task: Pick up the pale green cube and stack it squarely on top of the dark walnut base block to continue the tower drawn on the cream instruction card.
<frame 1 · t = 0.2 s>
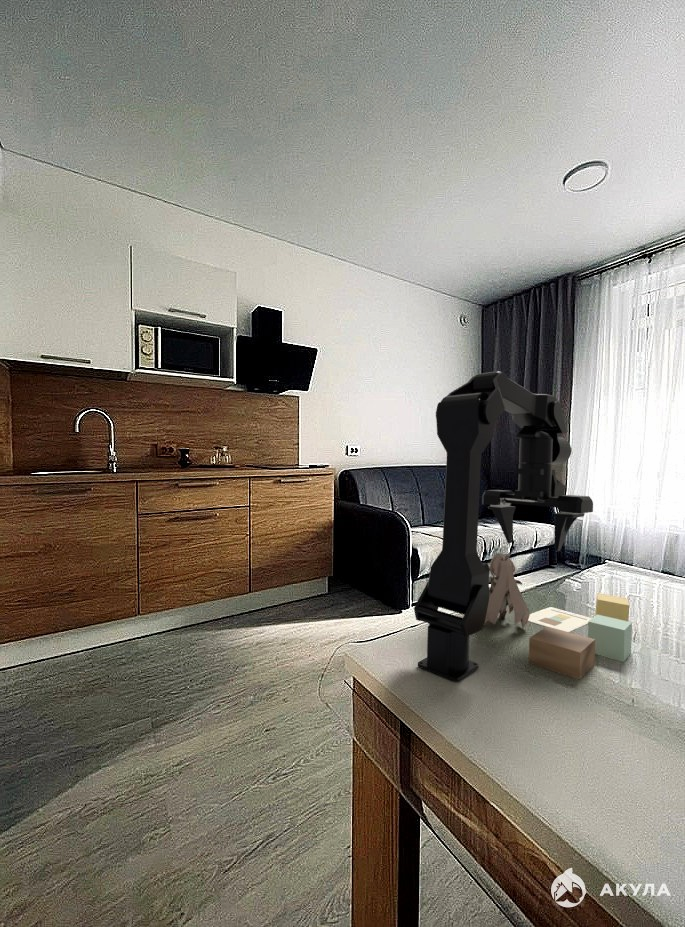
hand: (532, 546, 84), 14 cm above the table, fingers open, 9 cm apart
instruction card: (557, 619, 86), on the table
pale green cube: (609, 653, 71), on the table
toy: (500, 625, 83), on the table
base block: (561, 665, 67), on the table
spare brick: (610, 625, 83), on the table, touching instruction card
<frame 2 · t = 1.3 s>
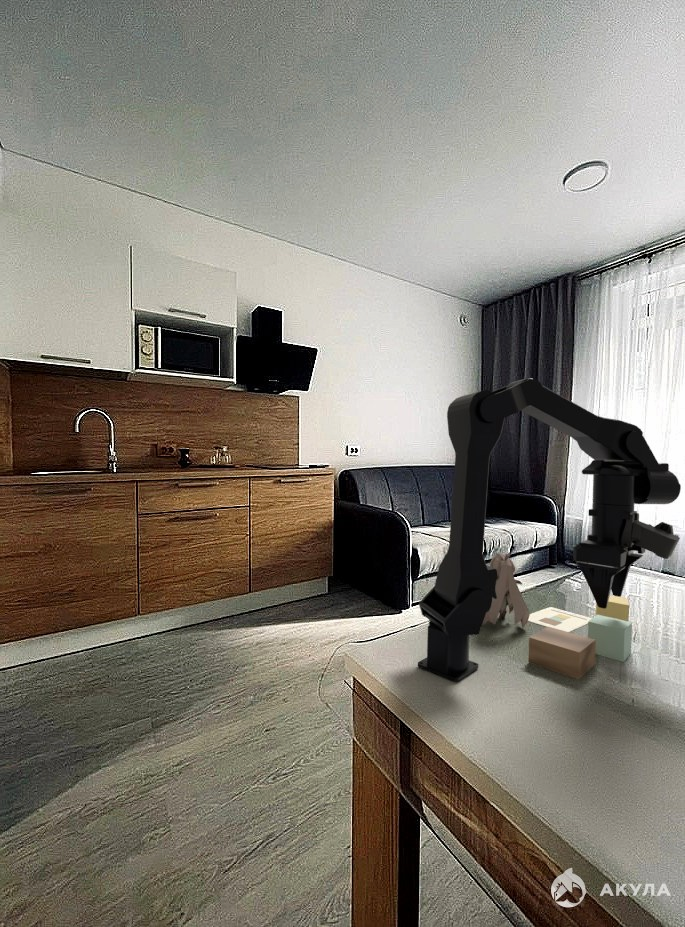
hand: (610, 601, 71), 8 cm above the table, fingers open, 9 cm apart
nothing on the table moved.
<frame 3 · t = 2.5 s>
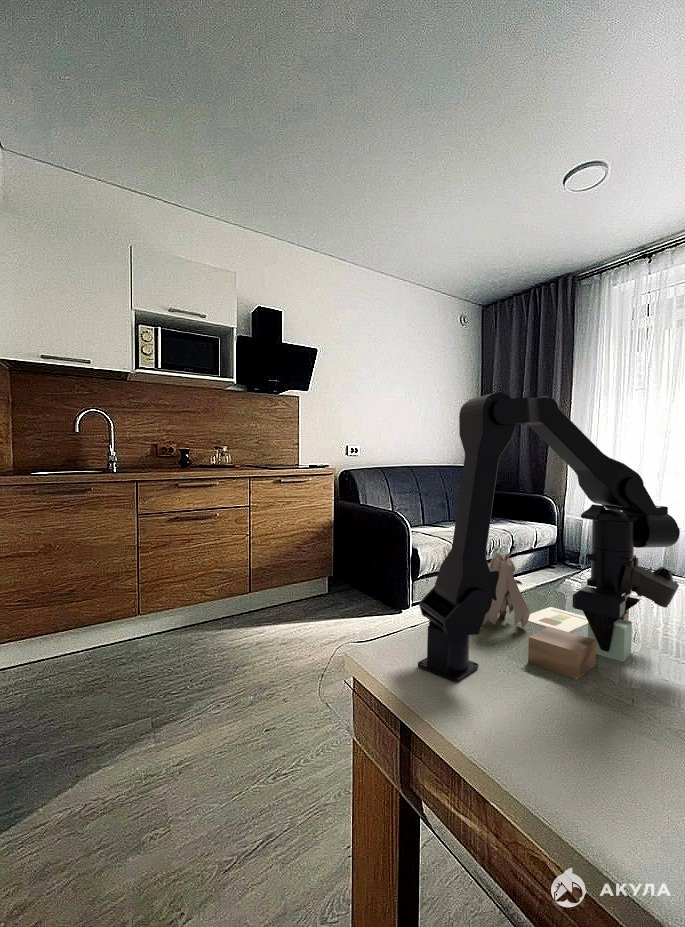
hand: (609, 646, 71), 1 cm above the table, fingers closed on pale green cube, 5 cm apart
pale green cube: (609, 652, 71), on the table, touching gripper
everything else where it was.
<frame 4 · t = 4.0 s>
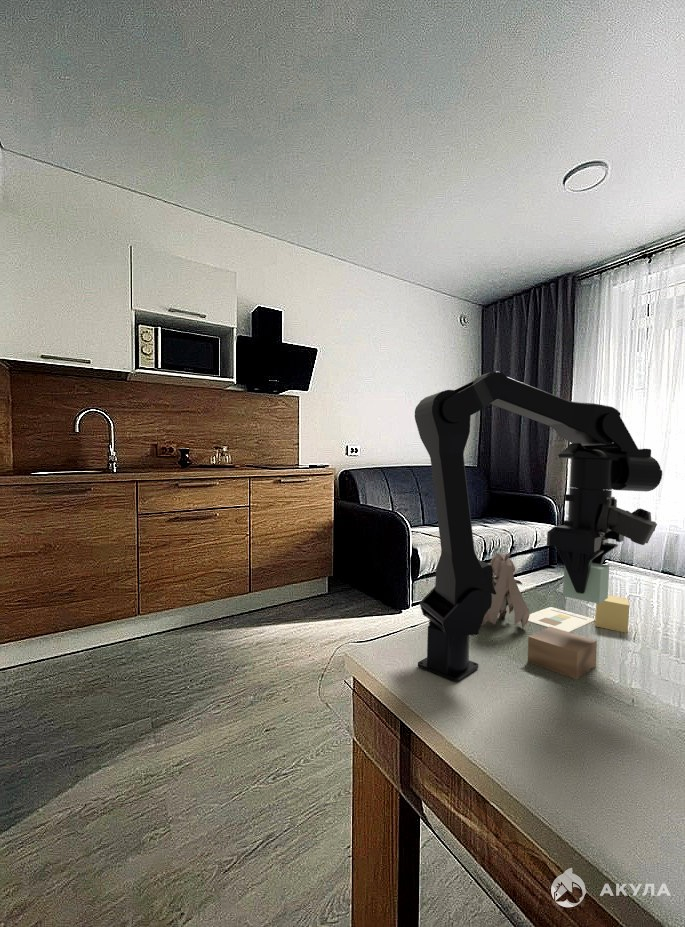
hand: (585, 590, 69), 10 cm above the table, fingers closed on pale green cube, 5 cm apart
pale green cube: (585, 596, 69), point 9 cm above the table, touching gripper
everything else where it was.
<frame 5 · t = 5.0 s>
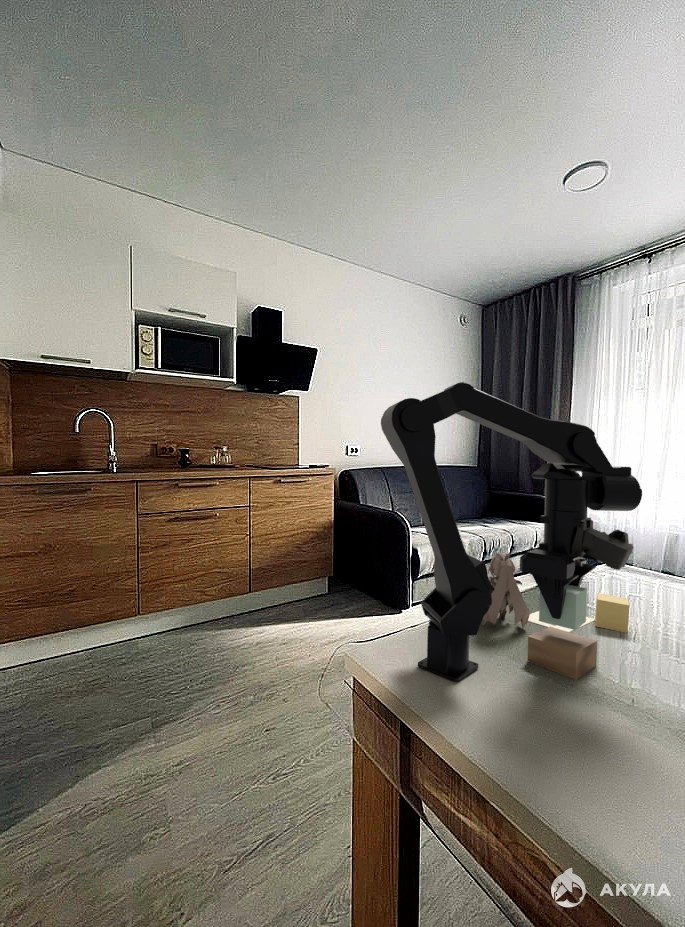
hand: (562, 614, 67), 7 cm above the table, fingers closed on pale green cube, 5 cm apart
pale green cube: (562, 621, 67), point 6 cm above the table, touching gripper
everything else where it was.
when the fingers open (6 cm above the table, at t = 5.6 s): pale green cube drops 1 cm, point 4 cm above the table.
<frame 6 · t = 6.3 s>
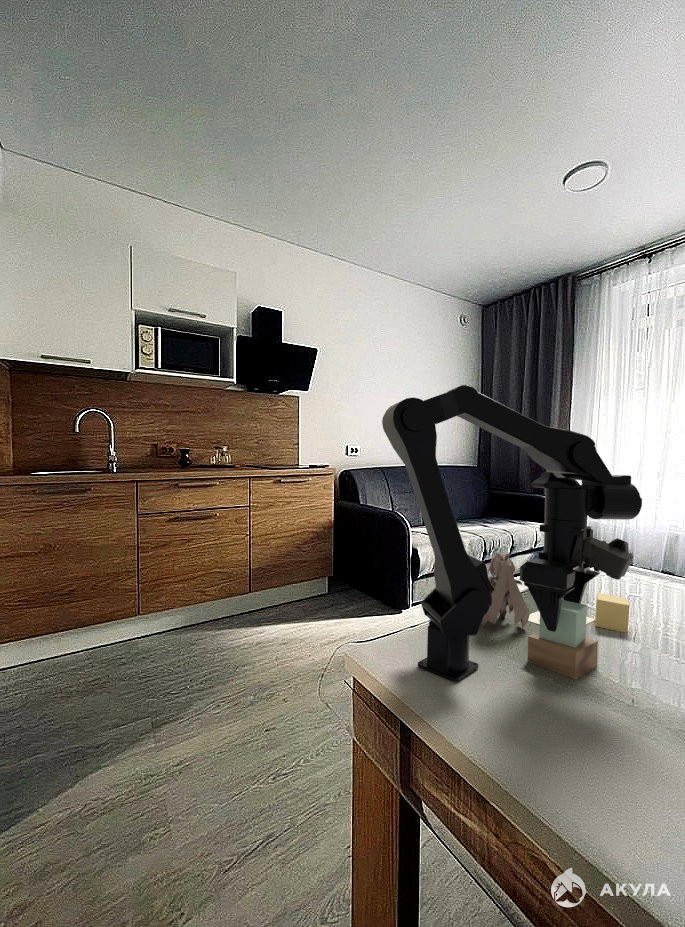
hand: (562, 623, 67), 6 cm above the table, fingers open, 9 cm apart
pale green cube: (562, 638, 67), point 4 cm above the table
everything else where it was.
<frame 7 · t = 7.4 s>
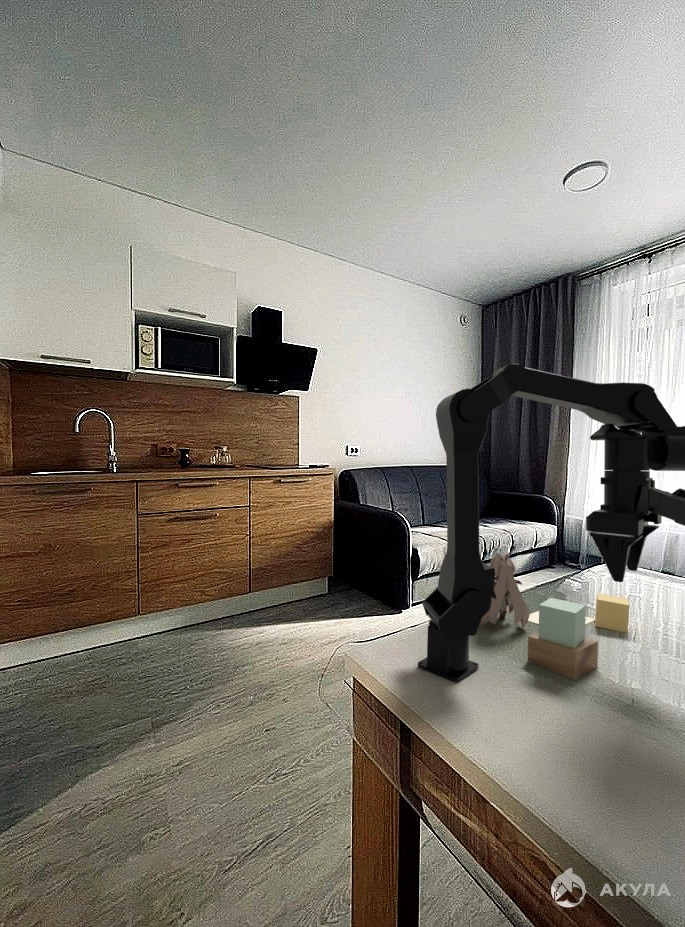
hand: (625, 575, 66), 13 cm above the table, fingers open, 9 cm apart
pale green cube: (561, 638, 67), point 4 cm above the table, touching base block
base block: (562, 665, 67), on the table, touching pale green cube
everything else where it was.
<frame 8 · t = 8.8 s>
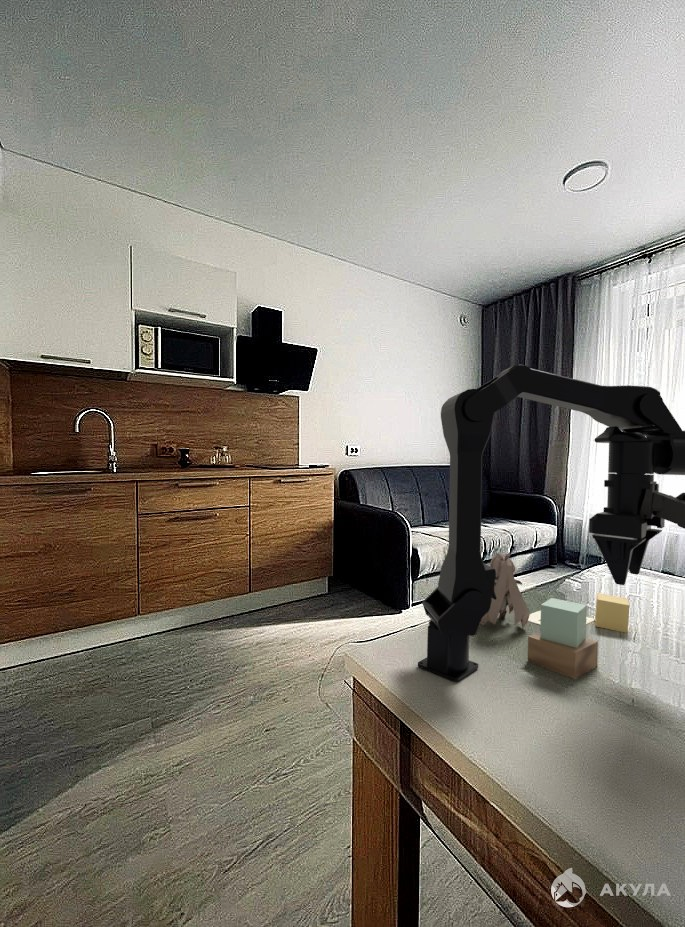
hand: (627, 579, 66), 13 cm above the table, fingers open, 9 cm apart
nothing on the table moved.
at the end: pale green cube 0.2 cm off-centre on the base block, point 4.0 cm above the base block's base; pale green cube tilted 0°; the gripper is holding nothing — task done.
